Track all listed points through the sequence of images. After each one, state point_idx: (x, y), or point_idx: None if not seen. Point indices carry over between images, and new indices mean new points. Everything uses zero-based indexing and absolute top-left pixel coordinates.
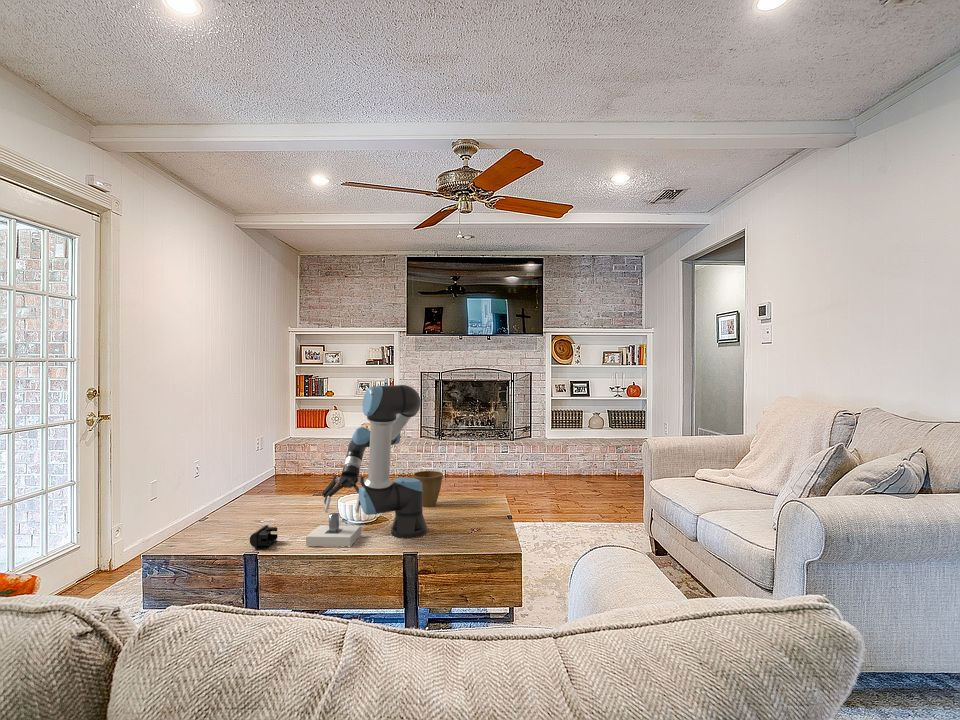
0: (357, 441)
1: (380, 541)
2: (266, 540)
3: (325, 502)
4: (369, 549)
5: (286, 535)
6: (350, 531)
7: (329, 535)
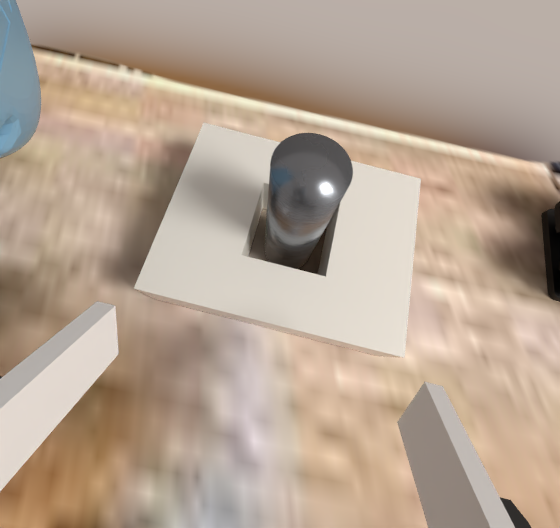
0: None
1: (68, 192)
2: None
3: (500, 506)
4: (133, 118)
5: (547, 383)
6: (200, 200)
7: None
